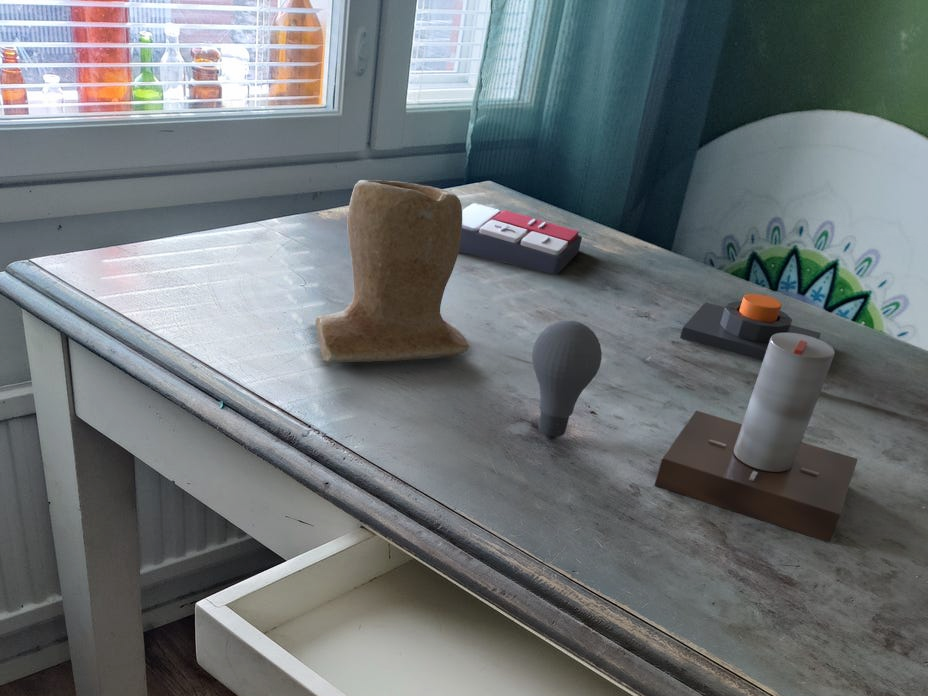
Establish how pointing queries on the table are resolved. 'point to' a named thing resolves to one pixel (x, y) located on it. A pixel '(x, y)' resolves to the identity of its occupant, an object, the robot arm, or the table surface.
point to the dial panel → (757, 478)
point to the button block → (737, 330)
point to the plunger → (760, 307)
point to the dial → (783, 401)
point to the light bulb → (563, 371)
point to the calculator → (517, 239)
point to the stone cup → (397, 275)
